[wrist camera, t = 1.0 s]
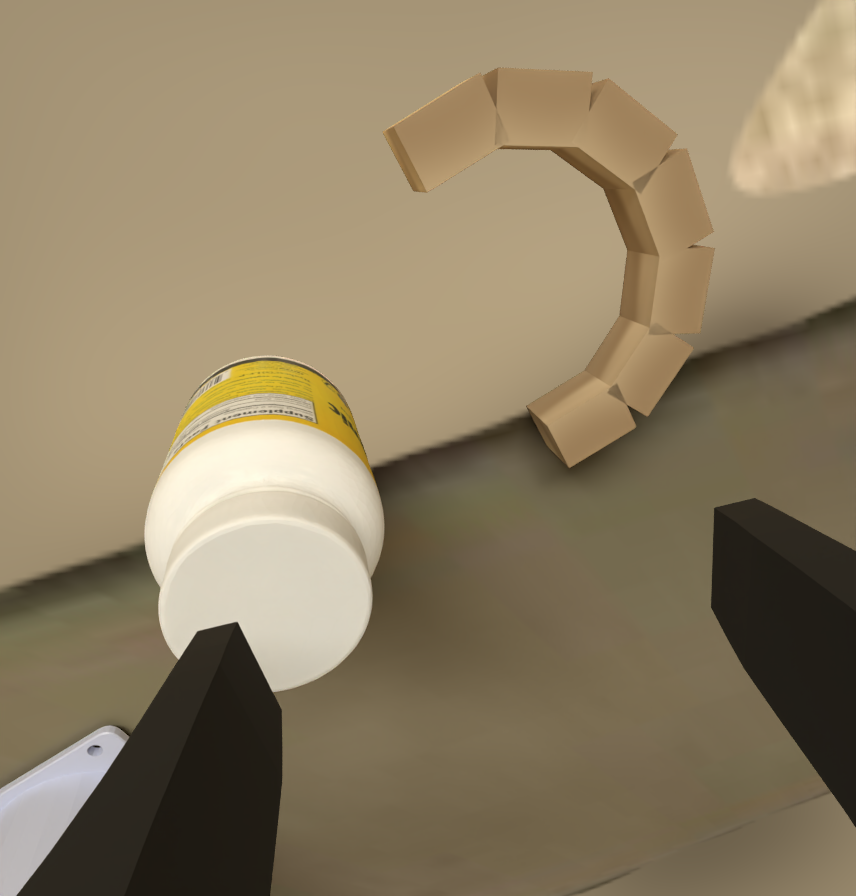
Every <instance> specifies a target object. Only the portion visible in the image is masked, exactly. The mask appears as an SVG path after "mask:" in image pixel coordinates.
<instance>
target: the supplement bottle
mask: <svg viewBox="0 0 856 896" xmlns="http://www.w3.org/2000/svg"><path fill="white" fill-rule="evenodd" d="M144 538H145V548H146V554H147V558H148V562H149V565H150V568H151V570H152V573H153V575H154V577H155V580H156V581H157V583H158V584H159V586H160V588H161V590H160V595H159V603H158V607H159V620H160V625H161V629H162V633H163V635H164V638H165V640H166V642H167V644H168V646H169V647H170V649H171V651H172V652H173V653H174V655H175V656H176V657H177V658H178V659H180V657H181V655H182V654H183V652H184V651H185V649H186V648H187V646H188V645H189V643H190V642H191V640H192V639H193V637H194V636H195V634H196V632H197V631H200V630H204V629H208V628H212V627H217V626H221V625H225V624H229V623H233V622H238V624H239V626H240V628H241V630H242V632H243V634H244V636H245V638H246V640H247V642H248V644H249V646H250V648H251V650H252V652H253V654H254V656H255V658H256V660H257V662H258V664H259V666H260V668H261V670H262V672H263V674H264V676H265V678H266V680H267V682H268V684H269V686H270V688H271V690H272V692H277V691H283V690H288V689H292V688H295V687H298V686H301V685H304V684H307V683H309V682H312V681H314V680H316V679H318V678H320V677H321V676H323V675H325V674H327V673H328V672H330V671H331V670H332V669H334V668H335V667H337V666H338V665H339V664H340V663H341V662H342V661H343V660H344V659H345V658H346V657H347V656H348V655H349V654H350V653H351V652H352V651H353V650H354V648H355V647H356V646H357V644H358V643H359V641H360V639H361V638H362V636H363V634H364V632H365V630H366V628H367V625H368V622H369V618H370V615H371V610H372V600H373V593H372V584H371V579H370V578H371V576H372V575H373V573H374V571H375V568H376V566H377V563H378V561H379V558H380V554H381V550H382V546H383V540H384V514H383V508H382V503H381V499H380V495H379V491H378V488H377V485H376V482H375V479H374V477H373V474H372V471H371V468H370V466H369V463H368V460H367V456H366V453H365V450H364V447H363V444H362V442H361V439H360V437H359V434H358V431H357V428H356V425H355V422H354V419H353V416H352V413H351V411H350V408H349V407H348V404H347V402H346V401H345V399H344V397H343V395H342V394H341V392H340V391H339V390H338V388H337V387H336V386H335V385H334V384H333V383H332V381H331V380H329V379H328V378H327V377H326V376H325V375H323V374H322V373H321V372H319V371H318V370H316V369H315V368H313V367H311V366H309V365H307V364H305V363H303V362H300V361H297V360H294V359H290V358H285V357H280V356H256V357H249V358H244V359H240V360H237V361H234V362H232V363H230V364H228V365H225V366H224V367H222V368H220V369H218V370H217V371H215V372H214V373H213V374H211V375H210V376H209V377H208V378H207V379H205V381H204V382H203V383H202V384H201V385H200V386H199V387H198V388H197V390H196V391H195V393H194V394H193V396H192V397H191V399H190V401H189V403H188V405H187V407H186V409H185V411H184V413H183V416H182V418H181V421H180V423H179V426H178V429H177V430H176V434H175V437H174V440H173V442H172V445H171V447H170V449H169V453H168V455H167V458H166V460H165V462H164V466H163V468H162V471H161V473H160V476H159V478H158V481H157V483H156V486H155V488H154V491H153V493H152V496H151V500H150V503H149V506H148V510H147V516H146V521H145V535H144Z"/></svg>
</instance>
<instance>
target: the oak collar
mask: <svg viewBox="0 0 856 896" xmlns="http://www.w3.org/2000/svg"><path fill="white" fill-rule="evenodd" d="M592 74H593V72H579V71H558V70H535V69H514V68H497V69H495V70H493V71H491V72H489V73H487V74H485V75H483V76H482V75H481V73H479V74H477V75H475V76H473V77H471V78H469V79H467V80H466V81H464V82H462V83H460V84H458V85H457V86H455V87H453V88H452V89H450V90H449V91H447V92H445V93H444V94H442V95H441V96H439V97H437V98H436V99H435V100H433V101H431V102H430V103H428V104H426V105H425V106H423V107H422V108H420V109H418V110H417V111H415V112H414V113H412V114H410V115H409V116H407V117H406V118H404V119H402V120H401V121H399V122H398V123H396V124H394V125H393V126H391V127H390V128H388V129H386V130H385V131H383V134H384V136H385V138H386V140H387V141H388V143H389V145H390V147H391V149H392V151H393V153H394V155H395V157H396V159H397V161H398V163H399V164H400V166H401V168H402V170H403V172H404V174H405V176H406V178H407V180H408V182H409V184H410V185H411V187H412V189H413V191H418V192H429V191H430V190H432V189H434V188H435V187H437V186H438V185H440V184H442V183H443V182H445V181H447V180H448V179H450V178H451V177H453V176H455V175H456V174H458V173H459V172H461V171H463V170H464V169H466V168H467V167H469V166H471V165H472V164H474V163H475V162H477V161H479V160H480V159H482V158H483V157H485V156H487V155H488V154H490V153H492V152H493V151H495V150H496V149H528V150H529V149H530V150H532V149H533V150H551V151H553V152H554V153H555V154H557V155H558V156H559V157H561V158H562V159H564V160H565V161H566V162H568V163H569V164H570V165H572V166H573V167H575V168H576V169H577V170H579V171H580V172H581V173H583V174H584V175H585V176H587V177H588V178H589V179H591V180H592V181H594V182H595V183H596V184H598V185H599V186H601V187H602V188H603V189H604V191H605V194H606V196H607V199H608V202H609V204H610V207H611V209H612V212H613V214H614V217H615V220H616V222H617V225H618V227H619V230H620V232H621V235H622V237H623V240H624V243H625V245H626V248H627V258H626V266H625V274H624V283H623V292H622V299H621V308H620V316H619V318H618V319H617V321H616V322H615V324H614V325H613V327H612V328H611V330H610V331H609V333H608V334H607V336H606V338H605V339H604V341H603V342H602V344H601V345H600V347H599V348H598V350H597V352H596V353H595V355H594V356H593V358H592V359H591V361H590V363H589V364H588V366H587V367H586V369H585V370H584V371H583V372H581V373H579V374H578V375H576V376H574V377H573V378H571V379H570V380H568V381H566V382H565V383H563V384H561V385H560V386H558V387H556V388H555V389H553V390H551V391H550V392H548V393H547V394H545V395H543V396H542V397H540V398H538V399H537V400H535V401H533V402H532V403H530V404H529V405H527V406H526V407H527V409H528V411H529V413H530V415H531V416H532V418H533V420H534V422H535V424H536V426H537V428H538V430H539V432H540V434H541V436H542V437H543V439H544V441H545V443H546V445H547V446H548V447H549V448H550V449H551V450H552V451H553V452H554V453H555V454H556V455H557V456H558V457H559V458H560V459H561V460H562V461H563V462H564V463H565V464H566V465H567V466H568V467H569V468H570V467H572V466H573V465H575V464H577V463H578V462H580V461H582V460H583V459H585V458H587V457H588V456H590V455H592V454H593V453H595V452H597V451H598V450H600V449H601V448H603V447H605V446H606V445H608V444H610V443H611V442H613V441H615V440H616V439H618V438H620V437H621V436H623V435H624V434H626V433H628V432H629V431H631V430H633V429H634V428H636V425H635V422H634V420H633V418H632V416H631V413H630V411H629V409H628V407H627V405H628V406H630V407H632V408H634V409H635V410H637V411H639V412H640V413H642V414H644V415H646V416H647V417H648V415H649V414H650V412H651V411H652V409H653V408H654V406H655V405H656V403H657V402H658V401H659V399H660V398H661V396H662V395H663V393H664V392H665V390H666V389H667V387H668V386H669V384H670V383H671V381H672V380H673V379H674V377H675V376H676V374H677V373H678V371H679V370H680V368H681V367H682V365H683V364H684V362H685V361H686V359H687V358H688V356H689V355H690V354H691V352H692V351H693V349H694V348H693V347H692V346H690V345H689V344H687V343H686V342H684V341H683V340H681V339H680V338H678V337H677V336H675V335H674V334H690V333H700V332H701V326H702V320H703V314H704V308H705V303H706V297H707V290H708V285H709V279H710V273H711V267H712V261H713V256H714V250H715V248H710V247H704V246H697V245H693V244H695V243H696V242H698V241H700V240H701V239H703V238H704V237H706V236H708V235H709V234H711V233H713V232H714V231H713V228H712V225H711V222H710V219H709V216H708V213H707V210H706V206H705V203H704V200H703V197H702V194H701V191H700V188H699V185H698V182H697V179H696V175H695V173H694V169H693V166H692V163H691V160H690V157H689V154H688V151H687V149H674V150H668V149H669V148H670V146H671V145H672V143H673V141H674V139H675V138H676V136H677V134H676V133H675V132H674V131H673V130H671V129H670V128H669V127H668V126H667V125H665V124H664V123H663V122H662V121H660V120H659V119H658V118H657V117H655V116H654V115H653V114H652V113H651V112H649V111H648V110H647V109H646V108H644V107H643V106H642V105H641V104H640V103H638V102H637V101H636V100H635V99H633V98H632V97H631V96H630V95H628V94H627V93H626V92H625V91H624V90H622V89H621V88H620V87H618V86H617V85H616V84H615V83H614V82H613V81H611V80H610V79H609V78H608V79H605V80H602V81H599V82H595V83H592Z"/></svg>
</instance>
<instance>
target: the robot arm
mask: <svg viewBox="0 0 856 896" xmlns="http://www.w3.org/2000/svg"><path fill="white" fill-rule="evenodd" d="M711 608H712V610H713V612H714V614H715V616H716V618H717V619H718V621H719V623H720V625H721V627H722V629H723V631H724V633H725V635H726V637H727V639H728V640H729V642H730V644H731V646H732V648H733V649H734V651H735V653H736V655H737V657H738V658H739V660H740V662H741V664H742V666H743V667H744V669H745V671H746V672H747V673H748V675H749V676H750V678H751V679H752V681H753V682H754V684H755V685H756V686H757V688H758V689H759V691H760V692H761V694H762V695H763V696H764V698H765V699H766V701H767V702H768V704H769V705H770V706H771V708H772V709H773V711H774V712H775V714H776V715H777V716H778V718H779V719H780V721H781V722H782V723H783V725H784V726H785V728H786V729H787V730H788V732H789V733H790V735H791V736H792V737H793V739H794V740H795V742H796V743H797V745H798V746H799V747H800V749H801V750H802V752H803V753H804V754H805V756H806V757H807V759H808V760H809V761H810V763H811V764H812V766H813V767H814V768H815V770H816V771H817V773H818V774H819V775H820V777H821V778H822V780H823V781H824V782H825V784H826V785H827V787H828V788H829V789H830V791H831V792H832V794H833V795H834V796H835V798H836V799H837V801H838V802H839V803H840V805H841V806H842V808H843V809H844V810H845V812H846V813H847V815H848V816H849V818H850V819H851V821H852V823H853V824H854V826H855V827H856V551H855V550H853V549H851V548H849V547H847V546H845V545H843V544H841V543H839V542H838V541H836V540H834V539H832V538H830V537H828V536H826V535H824V534H822V533H821V532H819V531H817V530H815V529H813V528H811V527H809V526H808V525H806V524H804V523H802V522H800V521H798V520H796V519H794V518H793V517H791V516H789V515H787V514H785V513H783V512H781V511H779V510H777V509H775V508H774V507H772V506H770V505H768V504H766V503H764V502H762V501H760V500H758V499H756V498H753V499H749V500H745V501H741V502H737V503H732V504H728V505H724V506H720V507H716V508H714V534H713V565H712V596H711ZM93 745H98V746H100V748H95V747H93ZM281 786H282V710H281V708H280V706H279V704H278V702H277V700H276V698H275V696H274V694H273V692H272V690H271V688H270V686H269V684H268V682H267V680H266V678H265V676H264V674H263V672H262V670H261V668H260V666H259V664H258V662H257V660H256V658H255V656H254V654H253V652H252V650H251V648H250V646H249V644H248V642H247V640H246V638H245V636H244V634H243V632H242V630H241V628H240V626H239V624H238V622H233V623H229V624H225V625H221V626H217V627H212V628H208V629H204V630H200V631H197V632H196V634H195V636H194V637H193V639H192V640H191V642H190V643H189V645H188V646H187V648H186V649H185V651H184V652H183V654H182V655H181V657H180V659H179V660H178V662H177V663H176V665H175V666H174V668H173V670H172V671H171V673H170V674H169V676H168V678H167V679H166V681H165V682H164V684H163V685H162V687H161V689H160V690H159V692H158V693H157V695H156V697H155V698H154V700H153V701H152V703H151V704H150V706H149V708H148V709H147V711H146V712H145V714H144V715H143V717H142V719H141V720H140V722H139V723H138V725H137V726H136V728H135V729H134V731H133V732H132V734H131V735H130V737H129V736H128V735H127V734H126V733H124V732H123V731H122V730H121V729H119V728H117V727H115V726H104V727H102V728H99V729H98V730H96V731H94V732H93V733H91V734H89V735H88V736H86V737H84V738H83V739H81V740H80V741H78V742H76V743H75V744H73V745H71V746H70V747H68V748H66V749H65V750H63V751H62V752H60V753H58V754H57V755H55V756H53V757H52V758H50V759H48V760H47V761H45V762H43V763H42V764H40V765H39V766H37V767H35V768H34V769H32V770H30V771H29V772H27V773H25V774H24V775H22V776H21V777H19V778H17V779H16V780H14V781H12V782H11V783H9V784H7V785H6V786H4V787H2V788H1V789H0V896H270V890H271V880H272V871H273V862H274V853H275V844H276V835H277V826H278V816H279V806H280V797H281Z"/></svg>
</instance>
